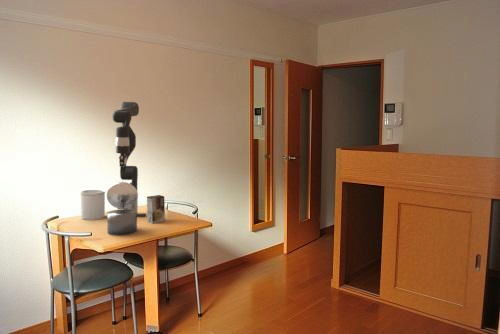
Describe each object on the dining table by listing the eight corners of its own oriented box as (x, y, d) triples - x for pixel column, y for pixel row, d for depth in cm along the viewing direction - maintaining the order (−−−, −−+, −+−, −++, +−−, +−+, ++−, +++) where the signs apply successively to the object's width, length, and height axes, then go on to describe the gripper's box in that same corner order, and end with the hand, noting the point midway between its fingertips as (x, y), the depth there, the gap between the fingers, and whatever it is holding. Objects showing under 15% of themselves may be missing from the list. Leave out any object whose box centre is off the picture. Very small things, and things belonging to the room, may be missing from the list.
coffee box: (159, 219, 252) (159, 194, 250) (165, 221, 248) (164, 196, 246) (146, 221, 246) (146, 196, 244) (152, 223, 241) (152, 197, 239)
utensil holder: (108, 218, 252) (107, 191, 250) (83, 221, 244) (82, 193, 242) (102, 213, 264) (101, 188, 262) (78, 216, 256) (78, 190, 254)
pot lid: (107, 210, 227) (107, 207, 229) (138, 209, 231) (138, 206, 234) (106, 183, 219) (106, 181, 222) (137, 182, 224) (137, 180, 226)
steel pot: (108, 228, 228) (108, 209, 227) (146, 226, 234) (145, 208, 232) (106, 236, 213) (105, 216, 212) (146, 234, 218) (146, 214, 217)
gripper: (117, 143, 236) (117, 170, 239) (114, 145, 223) (115, 174, 225) (130, 144, 238) (130, 170, 240) (128, 145, 224) (128, 173, 226)
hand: (123, 172), depth 233 cm, fingers open, 8 cm apart
